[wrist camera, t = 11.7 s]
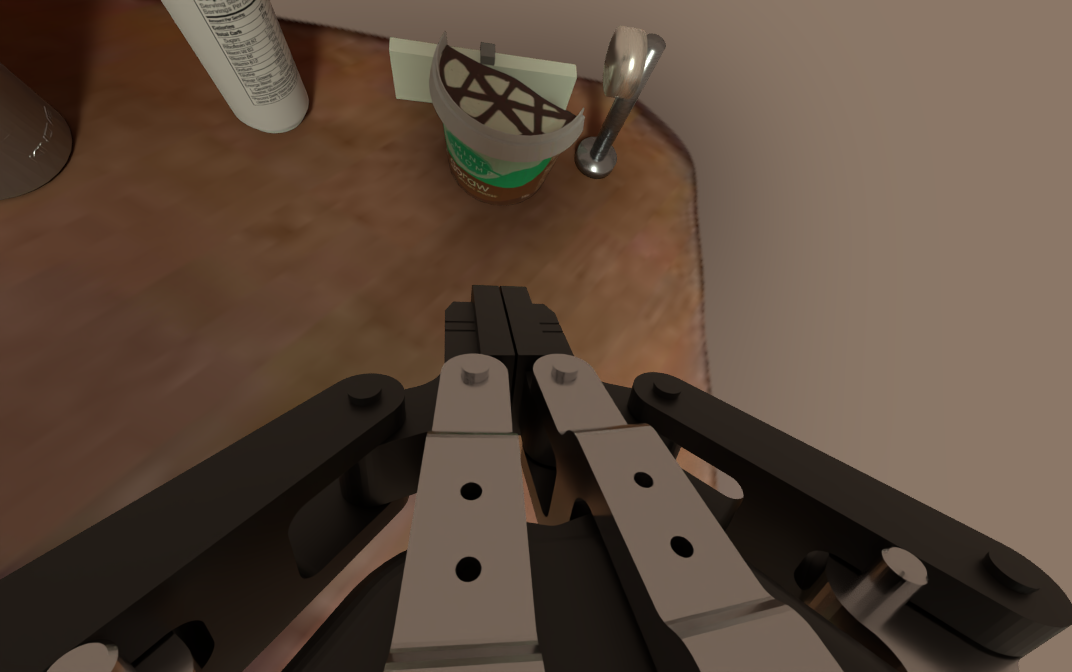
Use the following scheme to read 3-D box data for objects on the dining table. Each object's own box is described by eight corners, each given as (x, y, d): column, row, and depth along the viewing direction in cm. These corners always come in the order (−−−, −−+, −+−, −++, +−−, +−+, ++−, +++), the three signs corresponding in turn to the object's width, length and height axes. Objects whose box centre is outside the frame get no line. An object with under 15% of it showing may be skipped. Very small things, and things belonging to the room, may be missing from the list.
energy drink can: (275, 68, 37) (168, -163, 23) (327, 111, 37) (253, -94, 23) (218, 106, 36) (64, -120, 21) (273, 151, 36) (157, -45, 21)
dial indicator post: (573, 178, 41) (628, 61, 28) (570, 139, 42) (622, 10, 29) (614, 182, 42) (686, 69, 29) (611, 144, 43) (678, 20, 30)
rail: (396, 98, 39) (387, 41, 34) (396, 86, 39) (388, 28, 34) (562, 118, 42) (579, 69, 37) (561, 106, 43) (578, 57, 37)
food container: (407, 176, 37) (393, 85, 28) (440, 127, 39) (438, 26, 30) (530, 240, 38) (557, 173, 29) (557, 190, 40) (590, 111, 31)
